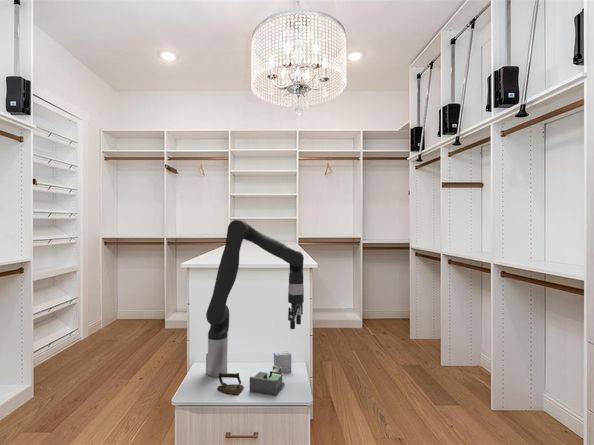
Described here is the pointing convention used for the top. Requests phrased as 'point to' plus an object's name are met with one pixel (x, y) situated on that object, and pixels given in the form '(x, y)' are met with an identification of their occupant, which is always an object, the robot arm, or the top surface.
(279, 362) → the medicine box
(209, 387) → the top surface
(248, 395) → the top surface
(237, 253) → the robot arm
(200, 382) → the top surface
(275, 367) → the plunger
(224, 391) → the clothes iron
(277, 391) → the box
